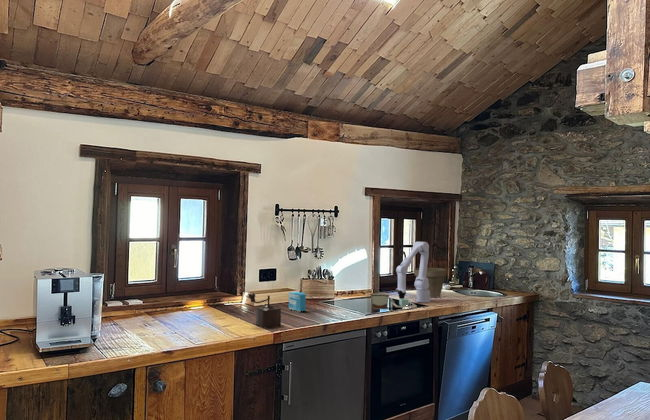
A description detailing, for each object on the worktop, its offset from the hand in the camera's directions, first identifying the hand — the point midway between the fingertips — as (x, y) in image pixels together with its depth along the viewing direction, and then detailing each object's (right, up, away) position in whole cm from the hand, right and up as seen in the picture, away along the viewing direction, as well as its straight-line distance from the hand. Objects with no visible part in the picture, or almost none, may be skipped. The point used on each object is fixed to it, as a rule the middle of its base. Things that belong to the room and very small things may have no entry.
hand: (401, 301), depth 337 cm
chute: (0, -2, -1) cm, 2 cm away
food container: (-18, -1, -18) cm, 25 cm away
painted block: (+1, -2, -5) cm, 5 cm away
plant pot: (+28, -3, +36) cm, 46 cm away
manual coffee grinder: (-89, +1, -76) cm, 116 cm away
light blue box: (-73, 0, -31) cm, 79 cm away
